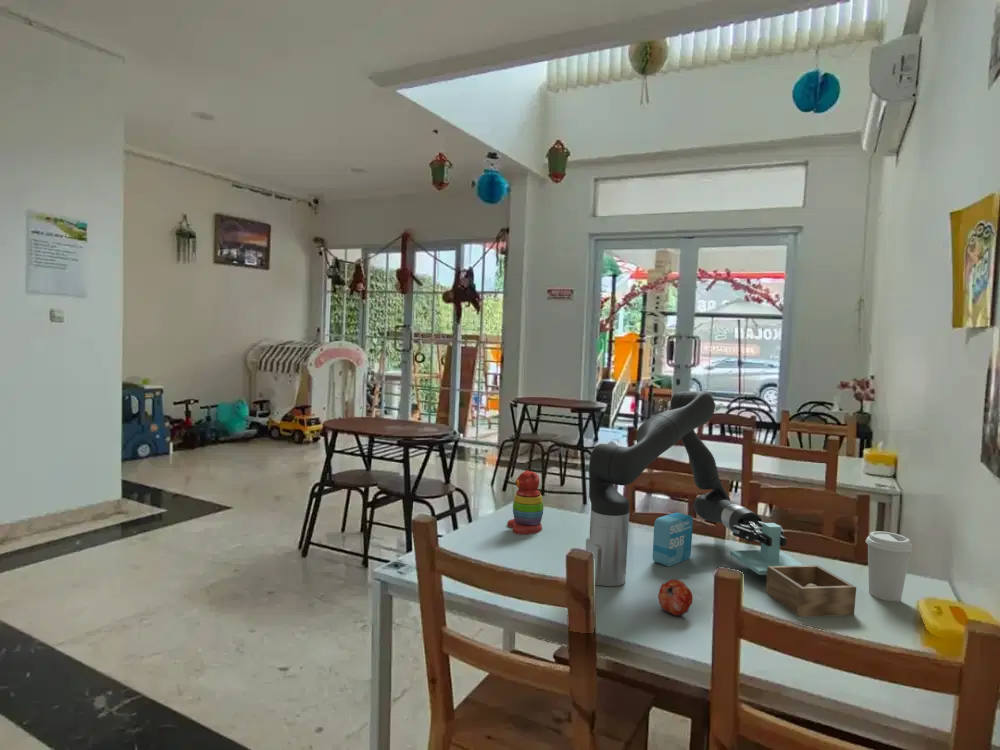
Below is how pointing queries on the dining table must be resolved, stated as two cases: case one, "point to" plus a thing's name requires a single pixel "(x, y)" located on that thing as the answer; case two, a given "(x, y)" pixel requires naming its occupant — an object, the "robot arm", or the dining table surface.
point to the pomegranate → (675, 597)
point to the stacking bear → (527, 505)
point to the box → (810, 590)
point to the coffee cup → (887, 564)
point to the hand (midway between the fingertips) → (777, 542)
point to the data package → (672, 538)
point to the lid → (766, 553)
